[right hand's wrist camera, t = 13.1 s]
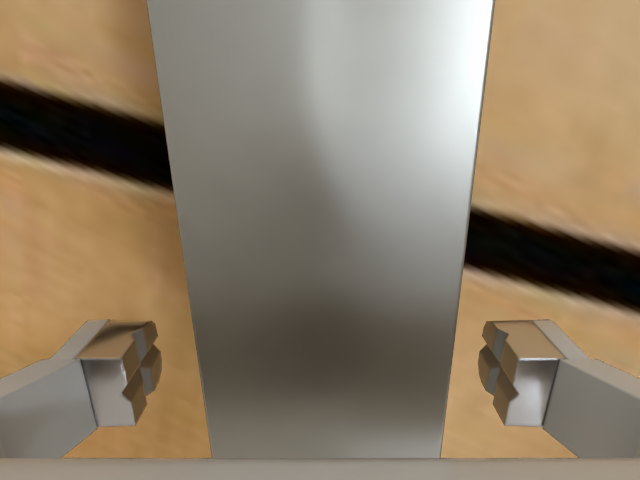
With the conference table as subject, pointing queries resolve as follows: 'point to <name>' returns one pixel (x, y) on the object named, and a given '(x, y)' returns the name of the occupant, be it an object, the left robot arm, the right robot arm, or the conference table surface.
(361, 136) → the bar
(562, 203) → the conference table surface
